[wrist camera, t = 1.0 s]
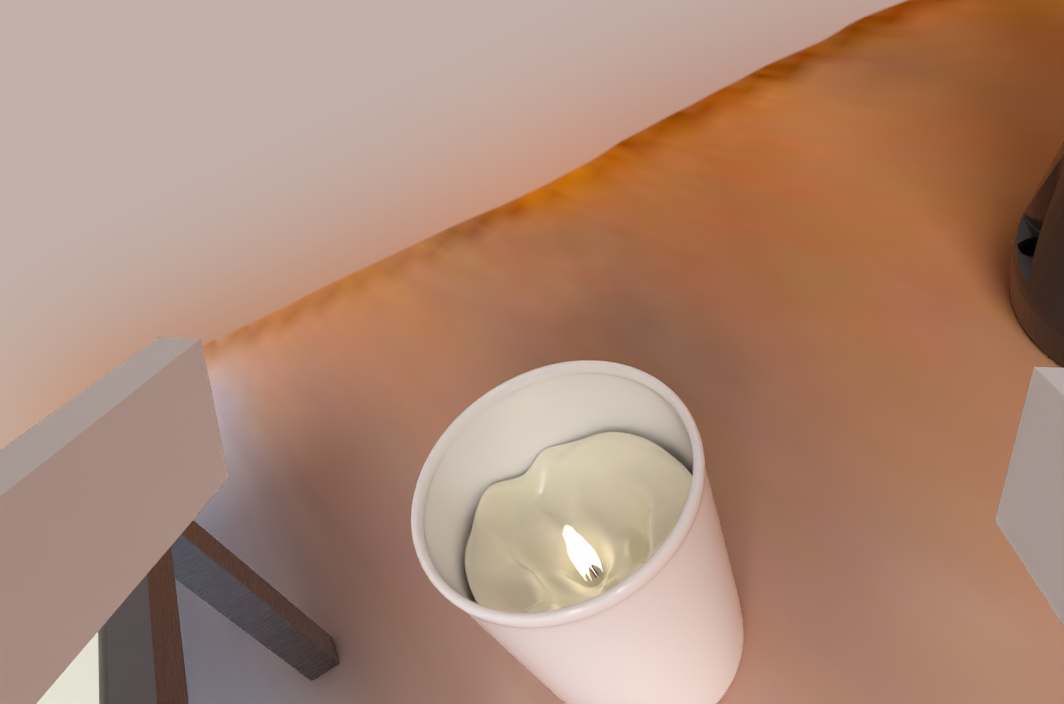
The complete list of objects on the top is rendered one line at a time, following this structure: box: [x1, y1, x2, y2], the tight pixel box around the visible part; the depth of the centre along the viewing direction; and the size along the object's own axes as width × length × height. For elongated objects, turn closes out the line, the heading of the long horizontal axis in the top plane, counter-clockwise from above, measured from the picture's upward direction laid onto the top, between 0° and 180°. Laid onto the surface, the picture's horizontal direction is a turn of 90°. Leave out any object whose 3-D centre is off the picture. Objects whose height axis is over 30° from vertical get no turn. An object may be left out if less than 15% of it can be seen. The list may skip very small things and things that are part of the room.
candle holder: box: [411, 360, 744, 704], centre depth 30 cm, size 10×10×12 cm
